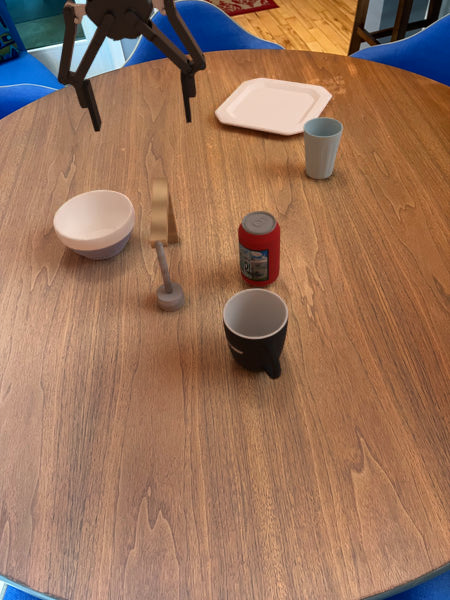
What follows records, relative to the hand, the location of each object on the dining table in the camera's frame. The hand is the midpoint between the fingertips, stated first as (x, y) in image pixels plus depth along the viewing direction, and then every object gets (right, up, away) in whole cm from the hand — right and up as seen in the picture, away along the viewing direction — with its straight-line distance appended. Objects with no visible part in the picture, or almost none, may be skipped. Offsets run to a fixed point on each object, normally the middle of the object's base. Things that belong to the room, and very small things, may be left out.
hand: (143, 122), depth 71 cm
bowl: (-11, -16, +20) cm, 28 cm away
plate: (+24, +21, +50) cm, 59 cm away
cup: (+32, +1, +31) cm, 45 cm away
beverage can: (+18, -22, +12) cm, 31 cm away
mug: (+17, -36, 0) cm, 40 cm away
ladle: (+3, -22, +14) cm, 26 cm away
